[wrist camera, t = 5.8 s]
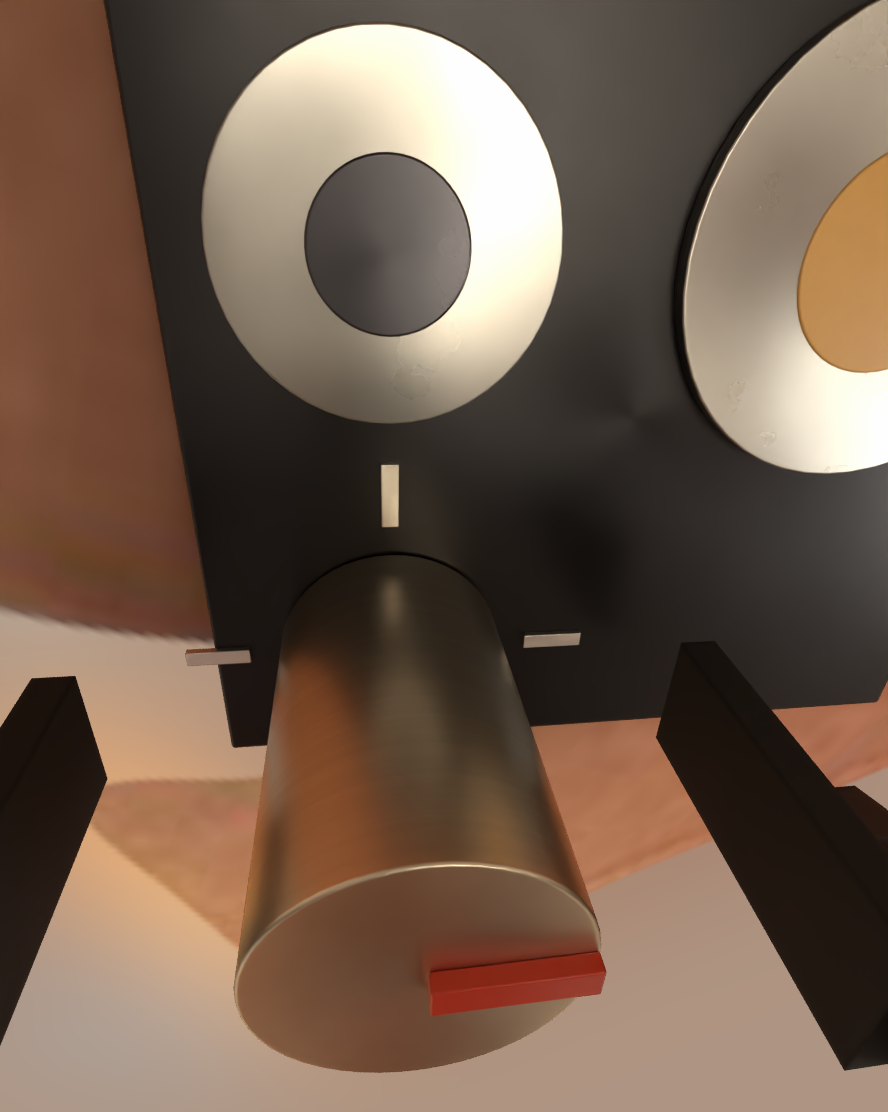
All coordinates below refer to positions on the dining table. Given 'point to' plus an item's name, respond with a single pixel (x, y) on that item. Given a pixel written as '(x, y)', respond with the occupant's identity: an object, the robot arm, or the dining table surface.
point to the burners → (550, 238)
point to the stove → (517, 382)
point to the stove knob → (405, 837)
